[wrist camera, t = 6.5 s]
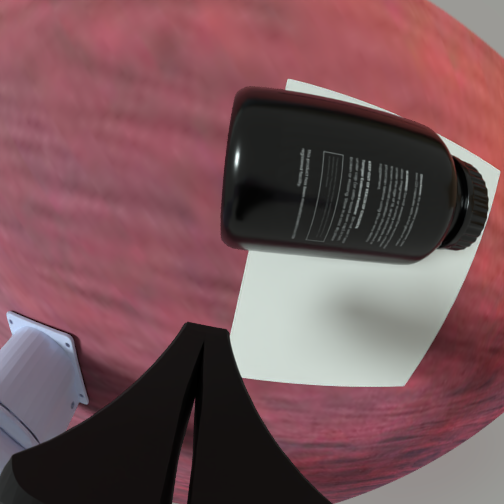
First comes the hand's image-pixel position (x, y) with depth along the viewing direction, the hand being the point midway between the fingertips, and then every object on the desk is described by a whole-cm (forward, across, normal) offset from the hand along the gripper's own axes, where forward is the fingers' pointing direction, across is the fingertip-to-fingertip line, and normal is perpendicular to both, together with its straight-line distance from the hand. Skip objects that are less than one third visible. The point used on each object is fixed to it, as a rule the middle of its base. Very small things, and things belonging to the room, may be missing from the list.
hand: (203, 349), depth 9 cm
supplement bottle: (+5, +1, -5) cm, 7 cm away
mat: (+9, -10, 0) cm, 13 cm away
